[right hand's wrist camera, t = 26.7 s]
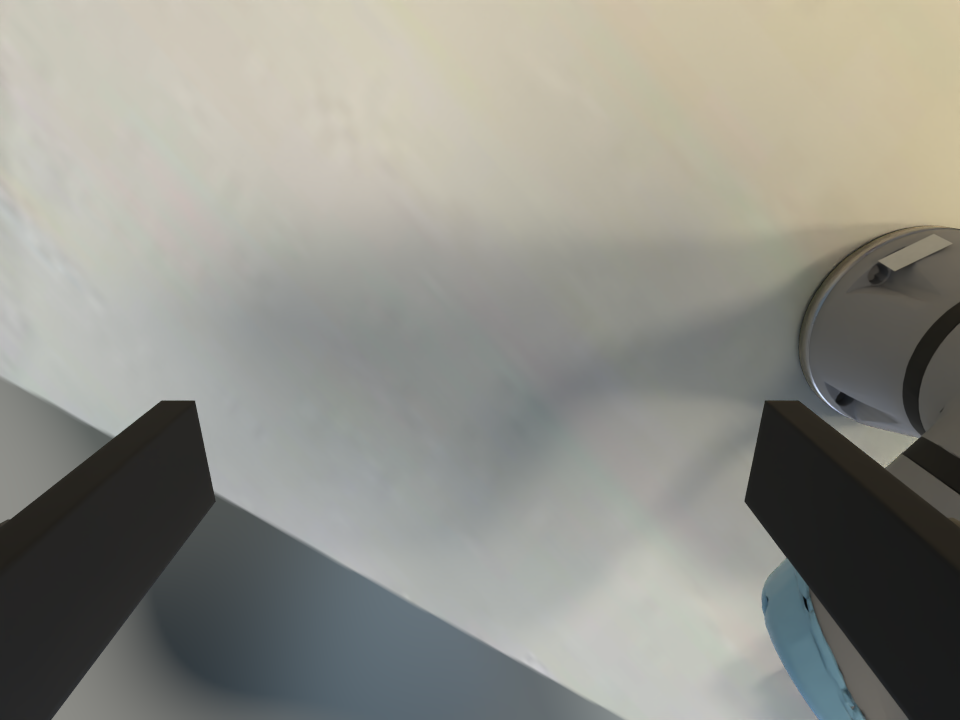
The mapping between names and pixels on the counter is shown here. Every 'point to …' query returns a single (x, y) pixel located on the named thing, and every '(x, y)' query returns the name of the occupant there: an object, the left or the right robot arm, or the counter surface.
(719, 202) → the counter surface
